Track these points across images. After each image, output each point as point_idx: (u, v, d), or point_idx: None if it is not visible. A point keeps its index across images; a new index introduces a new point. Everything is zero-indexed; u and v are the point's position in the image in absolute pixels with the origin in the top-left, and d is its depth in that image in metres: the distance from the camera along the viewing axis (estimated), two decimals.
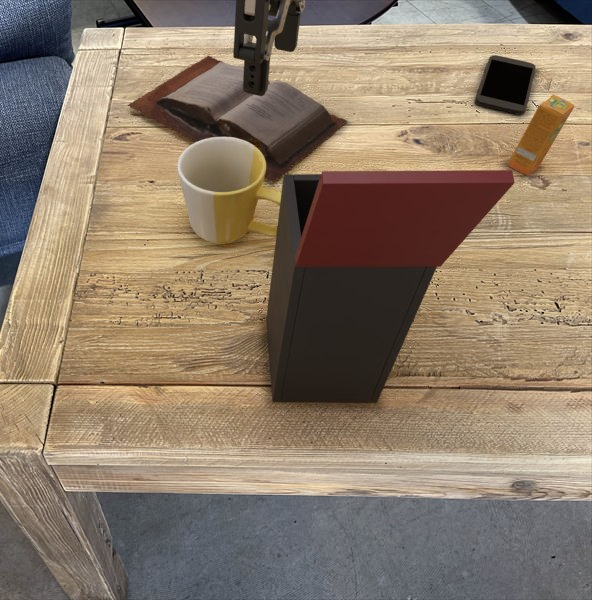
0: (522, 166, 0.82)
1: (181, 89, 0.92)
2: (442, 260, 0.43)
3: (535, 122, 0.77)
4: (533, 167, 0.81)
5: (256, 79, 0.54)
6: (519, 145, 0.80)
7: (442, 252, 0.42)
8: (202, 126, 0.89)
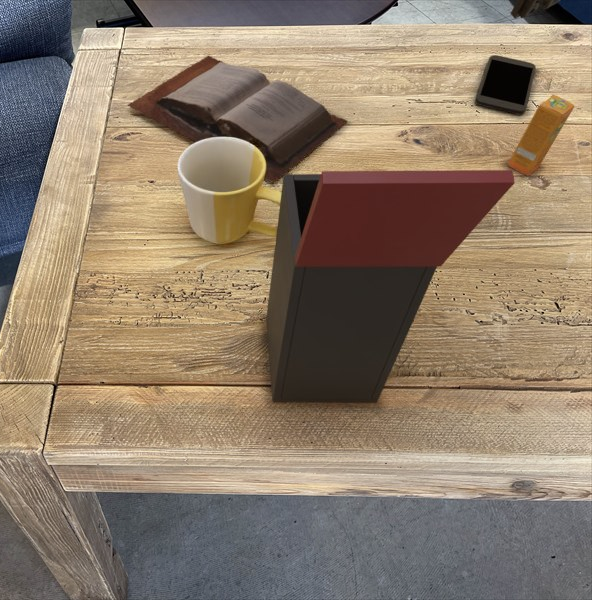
0: (522, 166, 0.82)
1: (181, 89, 0.92)
2: (442, 260, 0.43)
3: (535, 122, 0.77)
4: (533, 167, 0.81)
5: (538, 4, 0.60)
6: (519, 145, 0.80)
7: (442, 252, 0.42)
8: (202, 126, 0.89)
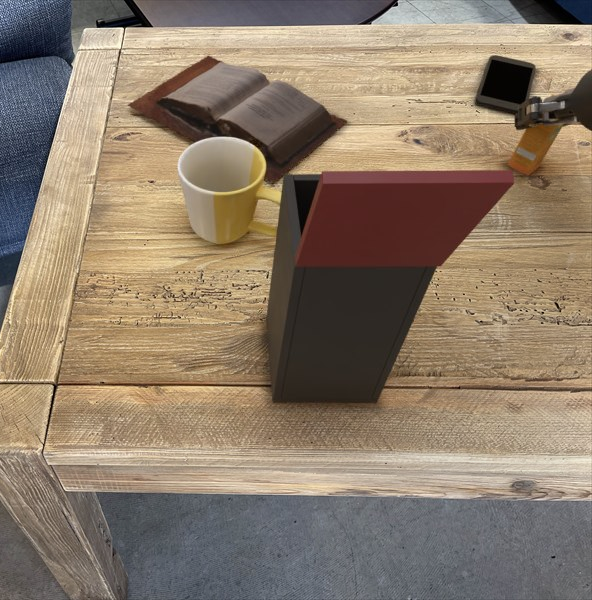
0: (522, 166, 0.82)
1: (181, 89, 0.92)
2: (442, 260, 0.43)
3: None
4: (533, 167, 0.81)
5: None
6: (518, 145, 0.80)
7: (442, 252, 0.42)
8: (202, 126, 0.89)
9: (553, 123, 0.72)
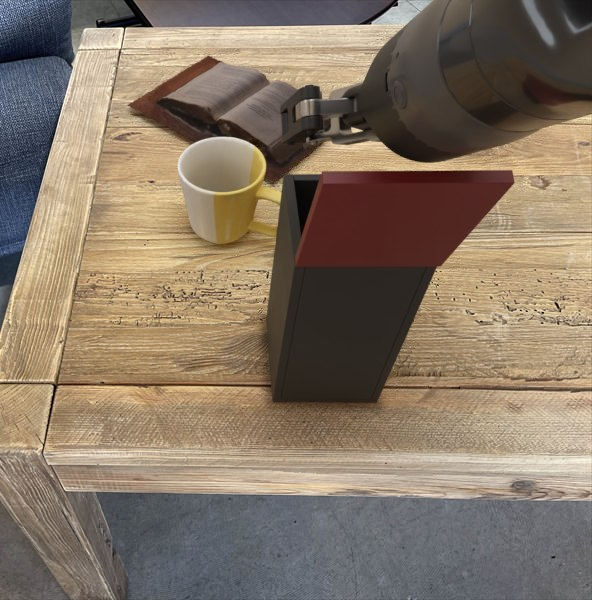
0: None
1: (181, 89, 0.92)
2: (442, 260, 0.43)
3: None
4: None
5: None
6: None
7: (442, 252, 0.42)
8: (202, 126, 0.89)
9: (348, 139, 0.38)
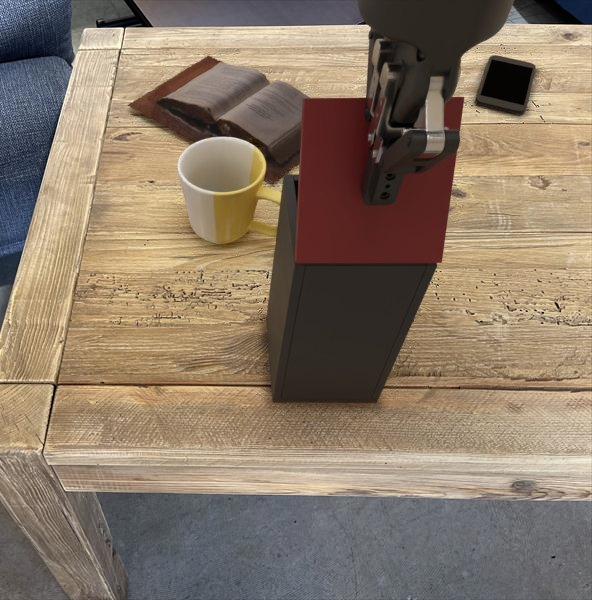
0: None
1: (181, 89, 0.92)
2: (440, 248, 0.43)
3: None
4: None
5: (393, 188, 0.39)
6: None
7: (435, 230, 0.43)
8: (202, 126, 0.89)
9: None
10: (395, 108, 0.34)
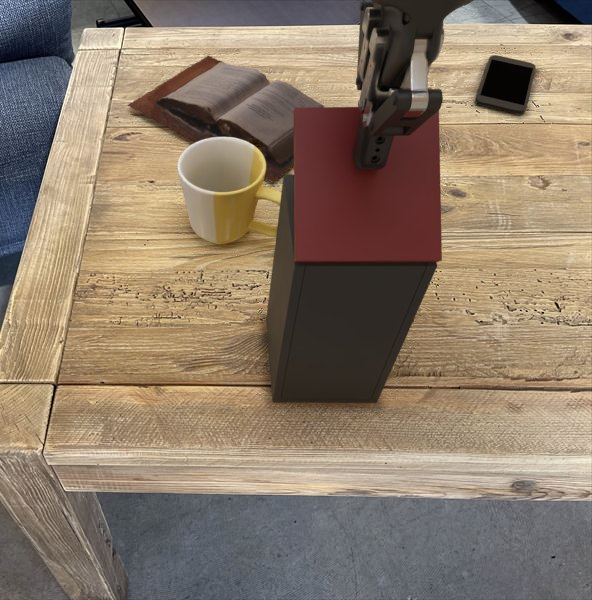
0: None
1: (181, 89, 0.92)
2: (438, 245, 0.44)
3: None
4: None
5: (383, 152, 0.41)
6: None
7: (431, 227, 0.44)
8: (202, 126, 0.89)
9: None
10: (383, 72, 0.36)
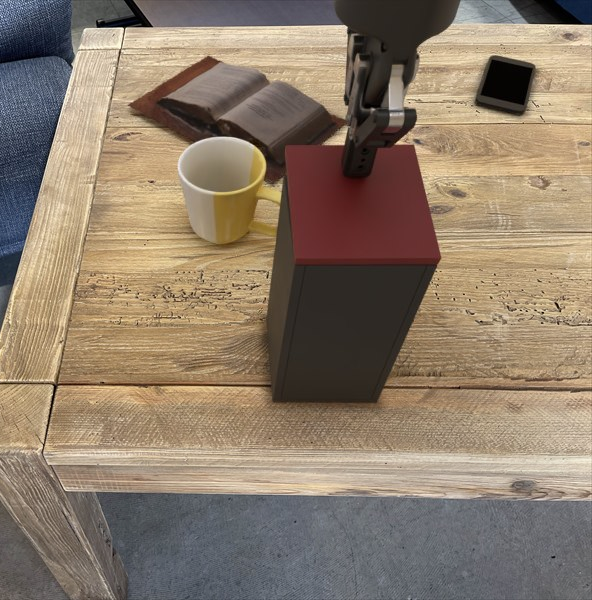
0: None
1: (181, 89, 0.92)
2: (434, 245, 0.44)
3: None
4: None
5: (368, 162, 0.46)
6: None
7: (425, 231, 0.45)
8: (202, 126, 0.89)
9: None
10: (366, 92, 0.40)
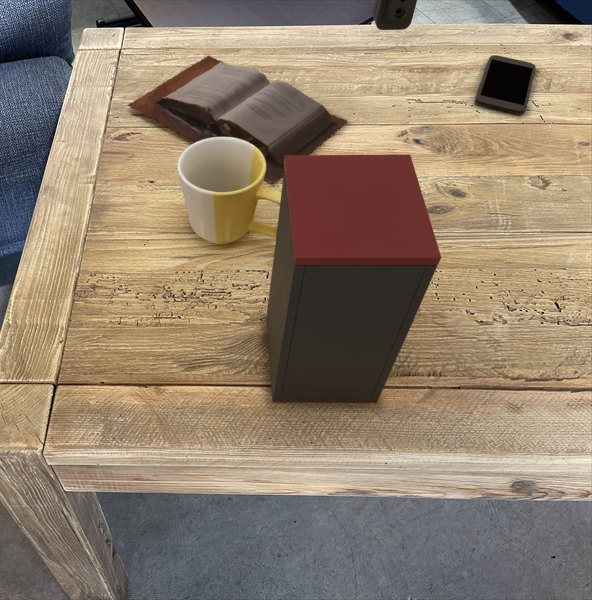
0: None
1: (181, 89, 0.92)
2: (434, 246, 0.45)
3: None
4: None
5: (409, 1, 0.36)
6: None
7: (424, 233, 0.45)
8: (202, 126, 0.89)
9: None
10: None
